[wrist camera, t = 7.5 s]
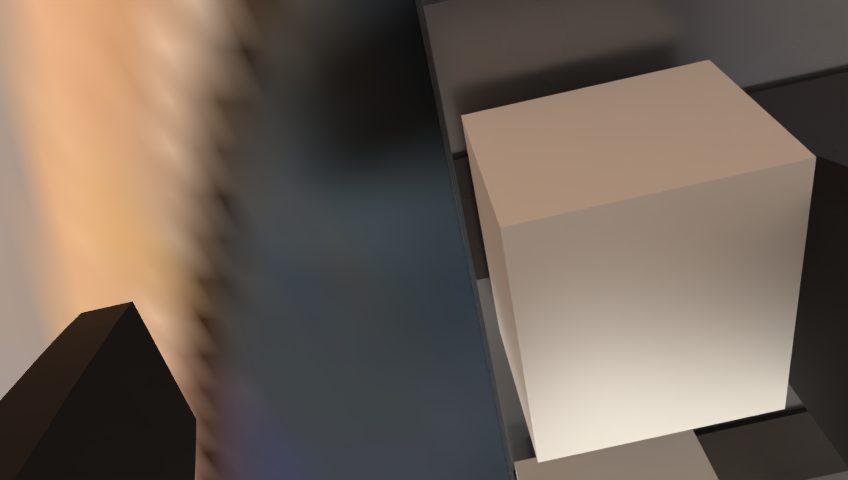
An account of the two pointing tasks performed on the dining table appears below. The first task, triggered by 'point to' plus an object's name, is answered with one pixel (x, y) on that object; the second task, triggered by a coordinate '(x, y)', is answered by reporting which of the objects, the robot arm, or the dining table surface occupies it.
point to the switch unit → (623, 58)
